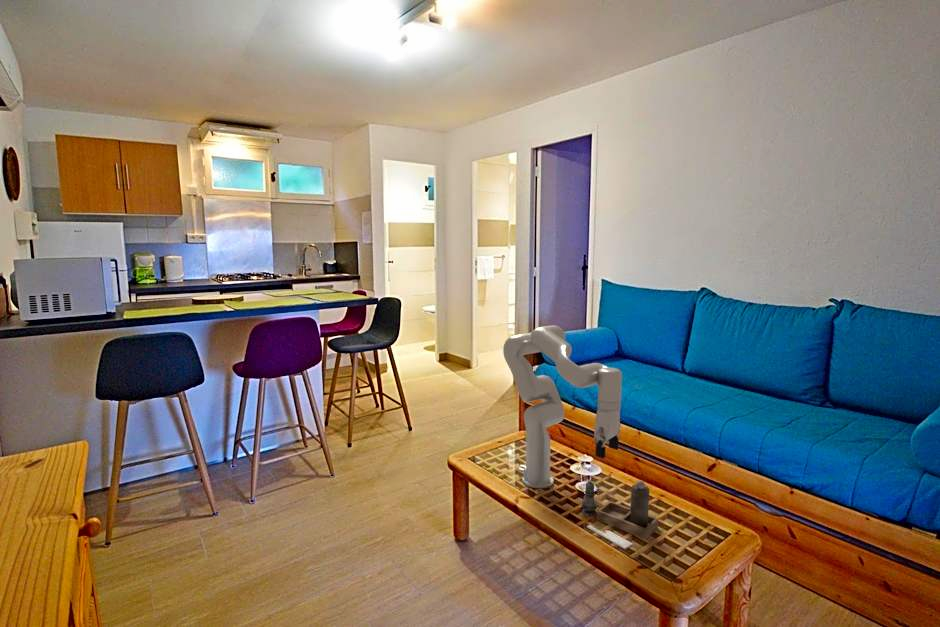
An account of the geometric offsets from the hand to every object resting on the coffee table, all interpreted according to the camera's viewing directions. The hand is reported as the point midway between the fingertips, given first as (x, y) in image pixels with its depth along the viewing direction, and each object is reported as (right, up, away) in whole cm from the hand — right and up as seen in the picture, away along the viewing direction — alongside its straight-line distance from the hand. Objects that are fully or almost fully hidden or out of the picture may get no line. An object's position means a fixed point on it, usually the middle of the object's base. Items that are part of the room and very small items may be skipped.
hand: (606, 452), depth 168 cm
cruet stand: (+6, -23, -3) cm, 24 cm away
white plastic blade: (-2, -25, -9) cm, 26 cm away
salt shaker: (-5, -23, +5) cm, 24 cm away
